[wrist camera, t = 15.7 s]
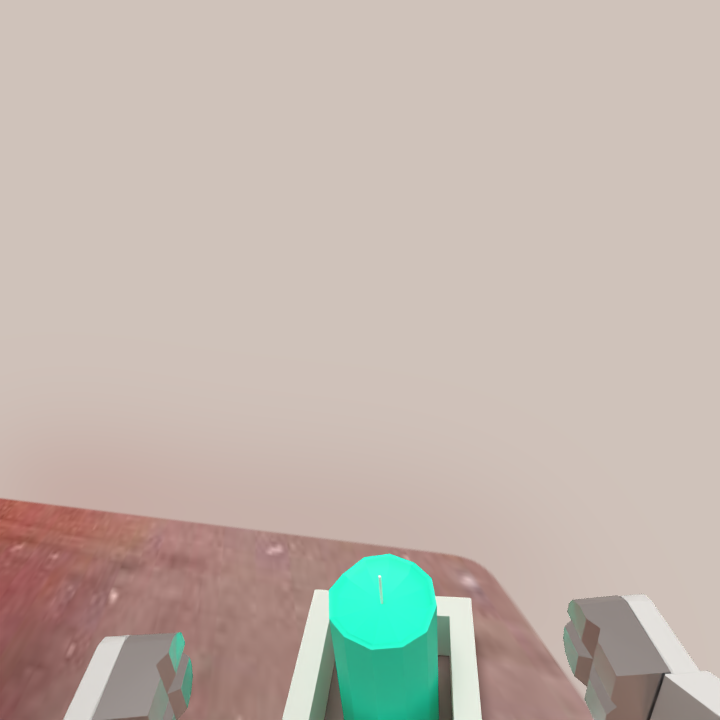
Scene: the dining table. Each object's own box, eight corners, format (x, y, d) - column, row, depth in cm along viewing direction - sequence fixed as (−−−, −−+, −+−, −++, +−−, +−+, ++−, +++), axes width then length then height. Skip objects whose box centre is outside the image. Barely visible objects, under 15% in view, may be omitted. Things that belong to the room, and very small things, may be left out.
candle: (415, 654, 34) (409, 523, 29) (456, 745, 29) (457, 604, 24) (333, 685, 33) (312, 552, 28) (360, 787, 27) (341, 645, 22)
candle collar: (280, 809, 27) (269, 769, 25) (321, 627, 37) (314, 589, 35) (486, 835, 25) (488, 793, 23) (469, 637, 35) (470, 598, 33)
